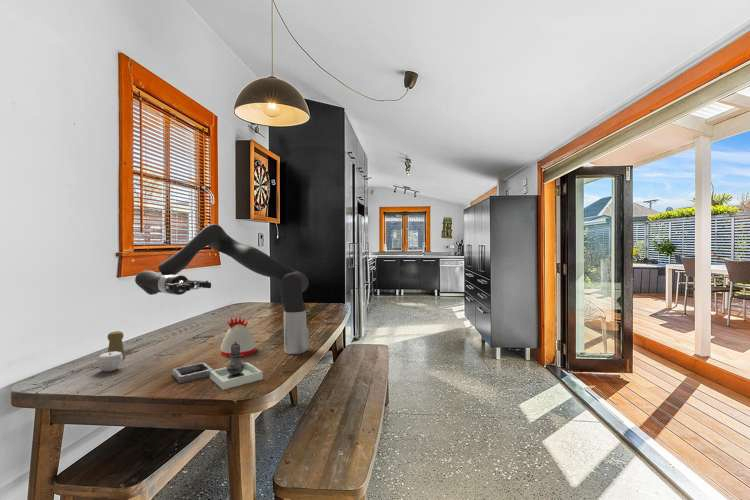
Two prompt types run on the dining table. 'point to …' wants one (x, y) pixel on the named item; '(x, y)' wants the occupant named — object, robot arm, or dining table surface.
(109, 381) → the dining table surface
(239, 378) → the tray
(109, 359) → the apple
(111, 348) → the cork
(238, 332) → the kitchen timer
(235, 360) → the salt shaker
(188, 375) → the holder
